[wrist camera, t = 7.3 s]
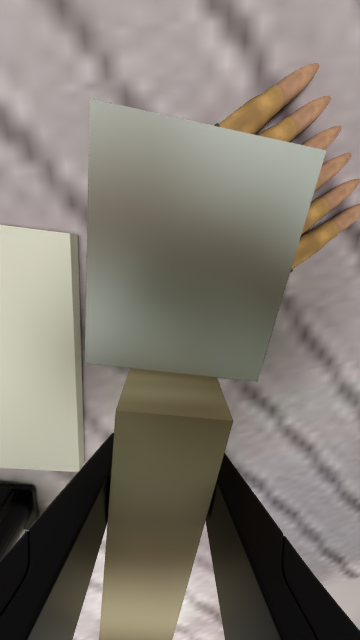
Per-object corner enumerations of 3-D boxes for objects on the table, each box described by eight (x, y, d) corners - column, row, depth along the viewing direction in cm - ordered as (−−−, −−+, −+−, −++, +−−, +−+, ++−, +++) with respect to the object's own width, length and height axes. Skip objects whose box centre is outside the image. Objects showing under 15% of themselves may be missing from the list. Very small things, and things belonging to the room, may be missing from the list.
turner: (196, 551, 12) (204, 645, 9) (88, 548, 11) (61, 647, 8) (303, 166, 6) (412, 92, 3) (103, 124, 6) (38, -4, 3)
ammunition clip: (227, 308, 17) (360, 218, 16) (234, 314, 15) (385, 213, 14) (147, 185, 14) (302, 62, 13) (144, 174, 12) (323, 30, 11)
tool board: (84, 460, 22) (79, 472, 20) (-7, 455, 21) (-17, 467, 20) (77, 235, 15) (70, 233, 14) (-54, 218, 14) (-74, 215, 13)
